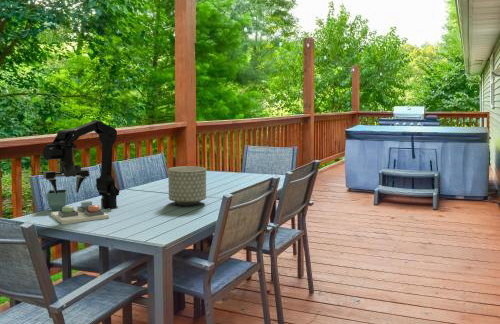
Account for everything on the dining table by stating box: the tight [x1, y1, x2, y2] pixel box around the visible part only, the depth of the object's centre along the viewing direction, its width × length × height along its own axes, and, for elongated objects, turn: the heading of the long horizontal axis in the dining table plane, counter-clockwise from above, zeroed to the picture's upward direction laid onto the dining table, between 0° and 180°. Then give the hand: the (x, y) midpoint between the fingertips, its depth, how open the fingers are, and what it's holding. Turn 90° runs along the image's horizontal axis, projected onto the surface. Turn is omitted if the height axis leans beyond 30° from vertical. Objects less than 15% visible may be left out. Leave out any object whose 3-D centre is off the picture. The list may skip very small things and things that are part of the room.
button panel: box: [50, 205, 110, 225], centre depth 230 cm, size 20×20×3 cm
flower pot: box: [46, 189, 68, 212], centre depth 245 cm, size 9×9×9 cm
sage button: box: [61, 205, 75, 214], centre depth 227 cm, size 5×5×2 cm
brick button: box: [88, 204, 100, 213], centre depth 229 cm, size 5×5×2 cm
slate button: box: [80, 200, 93, 209], centre depth 237 cm, size 5×5×2 cm
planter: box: [167, 165, 207, 206], centre depth 258 cm, size 19×19×18 cm
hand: (66, 193), depth 226 cm, fingers open, 9 cm apart
